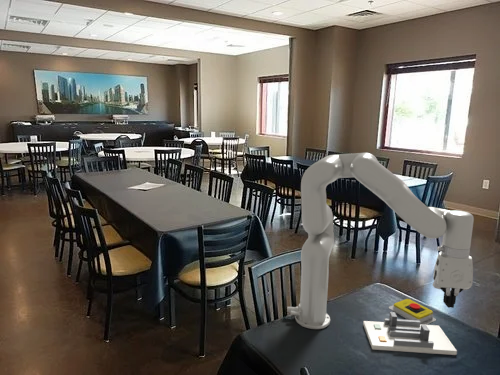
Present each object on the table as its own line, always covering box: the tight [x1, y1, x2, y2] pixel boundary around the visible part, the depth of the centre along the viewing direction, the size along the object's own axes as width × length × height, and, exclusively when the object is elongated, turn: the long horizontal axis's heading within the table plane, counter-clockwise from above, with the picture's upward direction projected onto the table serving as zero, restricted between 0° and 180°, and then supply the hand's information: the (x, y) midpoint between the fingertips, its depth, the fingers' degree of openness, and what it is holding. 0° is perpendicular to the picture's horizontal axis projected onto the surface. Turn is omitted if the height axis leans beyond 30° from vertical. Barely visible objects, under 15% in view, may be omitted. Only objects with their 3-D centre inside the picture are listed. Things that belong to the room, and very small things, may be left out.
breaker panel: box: [362, 317, 458, 356], centre depth 124 cm, size 26×14×3 cm, turn 85°
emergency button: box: [388, 298, 437, 325], centre depth 140 cm, size 9×4×15 cm
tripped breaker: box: [420, 325, 430, 341], centre depth 120 cm, size 2×3×5 cm, turn 175°
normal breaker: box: [388, 311, 398, 327], centre depth 127 cm, size 2×3×5 cm, turn 174°
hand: (448, 305), depth 117 cm, fingers closed
